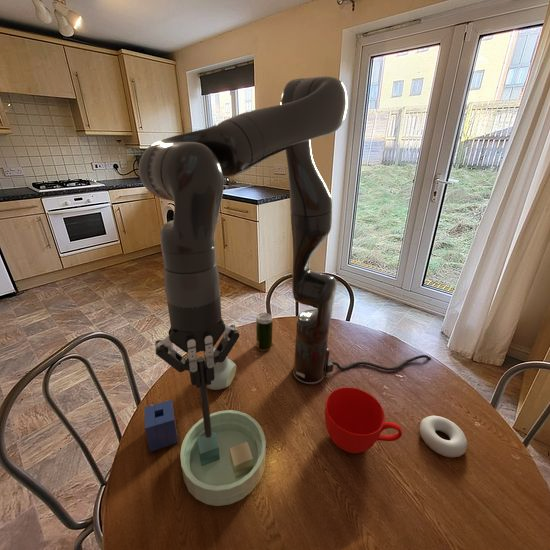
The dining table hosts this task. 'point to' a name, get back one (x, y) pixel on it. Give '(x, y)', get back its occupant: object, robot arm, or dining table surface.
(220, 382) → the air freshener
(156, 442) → the holder
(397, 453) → the dining table surface
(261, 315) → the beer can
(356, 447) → the ceramic cup
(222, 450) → the bowl
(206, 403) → the stick
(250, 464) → the cream block
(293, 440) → the dining table surface
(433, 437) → the donut
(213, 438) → the teal block
